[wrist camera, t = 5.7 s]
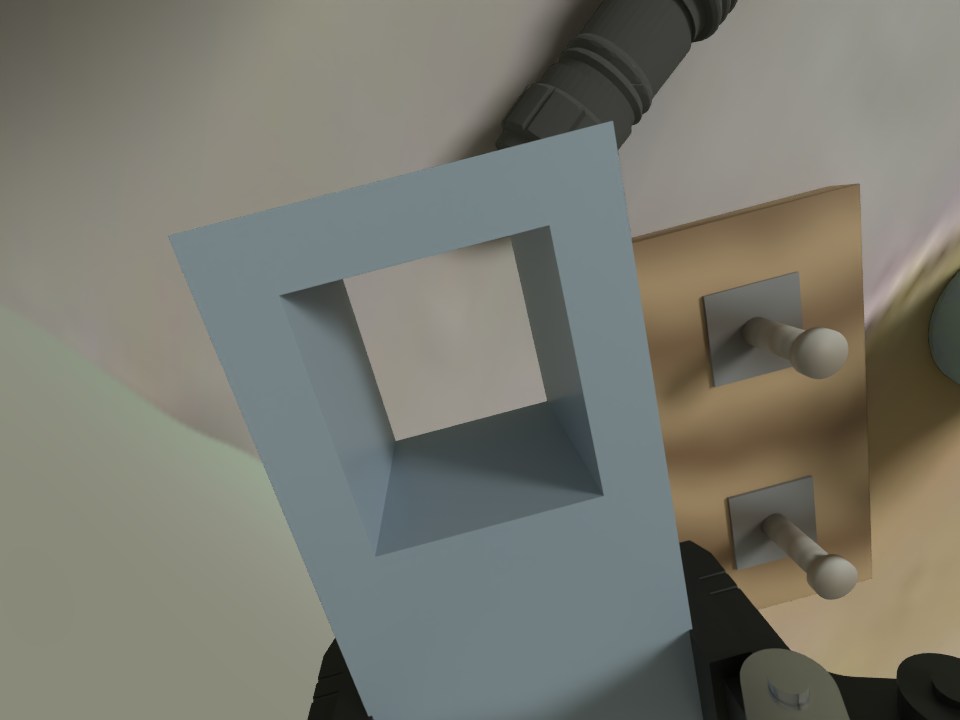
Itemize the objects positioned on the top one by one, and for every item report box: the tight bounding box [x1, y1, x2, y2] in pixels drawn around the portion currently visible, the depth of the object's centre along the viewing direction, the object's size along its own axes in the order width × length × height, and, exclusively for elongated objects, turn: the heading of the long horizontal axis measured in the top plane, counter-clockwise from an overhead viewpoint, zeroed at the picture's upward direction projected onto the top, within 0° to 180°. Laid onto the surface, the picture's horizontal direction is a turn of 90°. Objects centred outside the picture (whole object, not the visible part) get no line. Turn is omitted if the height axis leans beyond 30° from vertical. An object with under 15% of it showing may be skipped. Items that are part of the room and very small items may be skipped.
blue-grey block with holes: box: [168, 121, 703, 720], centre depth 11 cm, size 18×6×4 cm, turn 14°
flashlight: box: [496, 0, 737, 150], centre depth 22 cm, size 15×5×5 cm, turn 143°
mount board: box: [631, 184, 872, 610], centre depth 27 cm, size 24×12×7 cm, turn 14°
